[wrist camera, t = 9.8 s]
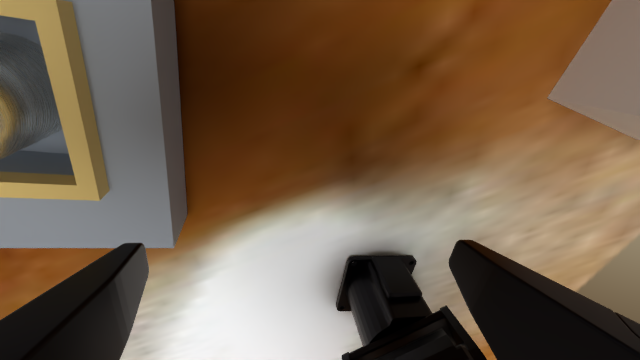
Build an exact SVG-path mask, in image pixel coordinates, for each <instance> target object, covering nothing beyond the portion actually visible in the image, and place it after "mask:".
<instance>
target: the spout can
mask: <svg viewBox="0 0 640 360" xmlns="http://www.w3.org/2000/svg"><path fill="white" fill-rule="evenodd" d="M61 130H63V129H62V125H61V121H60V117H59V113H58V109H57V105H56V101H55V97H54V93H53V89H52V85H51V81H50V78H49V74H48V70H47V66H46V62H45V58H44V54H43V50H42V46H41V45H39V44H37V43H35V42H34V41H31V40H29V39H27V38H24V37H21V36H18V35H14V34H9V33H0V159H3V158H5V157H7V156H9V155H11V154H13V153H15V152H17V151H19V150H21V149H23V148H25V147H28V146H30V145H32V144H34V143H36V142H38V141H40V140H42V139H44V138H46V137H48V136H50V135H53V134H55V133H57V132H59V131H61Z"/></svg>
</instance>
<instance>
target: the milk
mask: <svg viewBox="0 0 640 360" xmlns="http://www.w3.org/2000/svg"><path fill="white" fill-rule="evenodd" d="M547 98H548V99H550V100H552V101H554V102H556V103H558V104H561V105H563V106H565V107H567V108H569V109H571V110H574V111H576V112H578V113H580V114H582V115H585V116H587V117H589V118H591V119H593V120H595V121H598V122H600V123H602V124H604V125H606V126H608V127H611V128H613V129H615V130H617V131H619V132H621V133H624V134H626V135H628V136H630V137H632V138H634V139H637V140H640V0H612V1H611V3H610V4H609V6H608V7H607V9H606V10H605V12H604V13H603V15H602V16H601V18H600V19H599V21H598V22H597V24H596V25H595V27H594V28H593V30H592V31H591V33H590V34H589V36H588V37H587V39H586V40H585V42H584V43H583V45H582V46H581V48H580V49H579V51H578V52H577V54H576V55H575V57H574V58H573V60H572V61H571V63H570V64H569V66H568V67H567V69H566V70H565V72H564V73H563V75H562V76H561V78H560V79H559V81H558V82H557V84H556V85H555V87H554V88H553V90H552V91H551V93H550V94H549V96H548V97H547Z"/></svg>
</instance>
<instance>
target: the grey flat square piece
mask: <svg viewBox="0 0 640 360" xmlns="http://www.w3.org/2000/svg"><path fill="white" fill-rule="evenodd" d="M0 33H9V34H14V35H18V36H21V37H24V38H27V39H29V40H31V41H34V42H35V43H37V44H39V45H41V46H42V50H43V54H44V58H45V62H46V66H47V70H48V74H49V78H50V81H51V85H52V89H53V93H54V97H55V101H56V105H57V109H58V113H59V117H60V121H61V125H62V129H63V130H61V131H59V132H57V133H55V134H53V135H50V136H48V137H46V138H44V139H42V140H40V141H38V142H36V143H34V144H32V145H30V146H28V147H25V148H23V149H21V150H19V151H17V152H15V153H13V154H11V155H9V156H7V157H5V158H3V159H0V248H117V247H118V246H120V245H122V244H124V243H142V244H144V246H145V248H174V247H175V244H176V242H177V239H178V237H179V234H180V232H181V229H182V227H183V224H184V222H185V219H186V217H187V201H186V184H185V168H184V152H183V136H182V120H181V104H180V88H179V72H178V56H177V40H176V24H175V8H174V0H0Z"/></svg>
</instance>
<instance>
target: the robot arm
mask: <svg viewBox="0 0 640 360" xmlns="http://www.w3.org/2000/svg"><path fill="white" fill-rule="evenodd" d="M352 262H354V263H352ZM415 265H416V260H415V258H414V257H413V256H353V257H350V258H349V259H348V260H347V264H346V268H345V272H344V276H343V279H342V283H341V287H340V291H339V295H338V299H337V303H336V307H337V310H338V311H352V314H353V317H354V320H355V323H356V326H357V329H358V332H359V335H360V338H361V342H362V345H363V347H361V348H359V349H357V350H355V351H353V352H350V353H349V352H347V353H345V354H343V355H342V360H487V359H486V357H485V356H484V355H483V353H482V352H481V350H480V349H479V348H478V346H477V345H476V344H475V342H474V341H473V340H472V338H471V337H470V336H469V334H468V333H467V332H466V331H465V329H464V328H463V327H462V325H461V324H460V323H459V321H458V320H457V319H456V317H455V316H454V315H453V313H452V312H451V311H450V310H449V308H448V307H447V306H444V307H442V308H440V310H439V311H437V312H435V313H433V314H432V312H431V310H430V309H429V307H428V305H427V304H426V302H425V300H424V299H423V297H422V292H421V290H420V288H419V287H418V285H417V284H416V282H415V280H414V279H413V277H412V272H413V270H414V267H415ZM449 267H450V269H451V272H452V274H453V276H454V278H455V280H456V283H457V285H458V287H459V289H460V291H461V293H462V296H463V298H464V300H465V302H466V304H467V306H468V308H469V310H470V312H471V314H472V316H473V318H474V320H475V322H476V323H477V325H478V327H479V329H480V330H481V332H482V334H483V336H484V337H485V339H486V341H487V343H488V344H489V346H490V348H491V350H492V351H493V353H494V355H495V357H496V358H497V360H640V324H638V323H637V322H635V321H633V320H630V319H629V318H626V317H624V316H623V315H620V314H618V313H616V312H613V311H612V310H610V309H608V308H606V307H604V306H602V305H600V304H598V303H596V302H594V301H592V300H590V299H588V298H586V297H585V296H583V295H581V294H579V293H577V292H575V291H573V290H571V289H569V288H567V287H565V286H563V285H561V284H559V283H557V282H555V281H553V280H551V279H549V278H547V277H545V276H543V275H541V274H539V273H537V272H535V271H533V270H531V269H529V268H527V267H525V266H523V265H521V264H519V263H517V262H515V261H513V260H511V259H509V258H507V257H505V256H503V255H501V254H499V253H497V252H495V251H493V250H491V249H489V248H487V247H485V246H483V245H481V244H479V243H477V242H475V241H473V240H459V241H457V242H456V244H455V246H454V249H453V251H452V254H451V256H450V258H449ZM148 273H149V266H148V261H147V255H146V249H145V246H144V244H142V243H124V244H122V245H120V246H118V247H117V248H115V249H114V250H112V251H110V252H109V253H107V254H106V255H104V256H102V257H101V258H99V259H98V260H96V261H94V262H93V263H91V264H90V265H88V266H86V267H85V268H83V269H82V270H80V271H78V272H77V273H75V274H74V275H72V276H70V277H69V278H67V279H66V280H64V281H62V282H61V283H59V284H57V285H56V286H54V287H53V288H51V289H49V290H48V291H46V292H45V293H43V294H41V295H40V296H38V297H37V298H35V299H33V300H32V301H30V302H29V303H27V304H25V305H24V306H22V307H21V308H19V309H17V310H16V311H14V312H13V313H11V314H9V315H8V316H6V317H5V318H3V319H1V320H0V360H120V357H121V355H122V353H123V350H124V348H125V346H126V343H127V341H128V338H129V336H130V333H131V330H132V327H133V323H134V320H135V317H136V314H137V310H138V307H139V304H140V301H141V297H142V294H143V291H144V288H145V285H146V281H147V278H148Z"/></svg>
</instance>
